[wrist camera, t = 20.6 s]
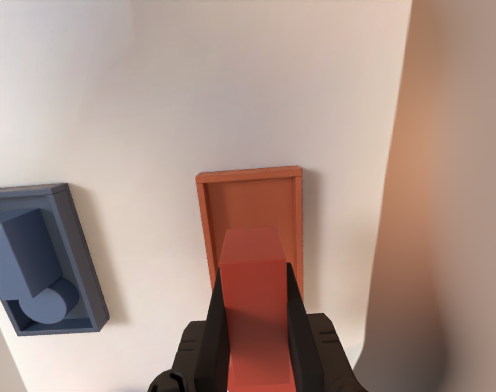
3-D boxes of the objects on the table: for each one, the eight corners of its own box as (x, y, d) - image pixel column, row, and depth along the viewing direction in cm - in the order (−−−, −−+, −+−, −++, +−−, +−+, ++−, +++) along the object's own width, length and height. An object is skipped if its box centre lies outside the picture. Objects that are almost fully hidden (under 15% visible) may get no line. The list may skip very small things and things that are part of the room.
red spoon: (211, 230, 14) (198, 264, 10) (292, 224, 14) (307, 257, 10) (231, 381, 17) (226, 445, 14) (295, 378, 17) (307, 442, 14)
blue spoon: (0, 210, 22) (-45, 226, 19) (48, 207, 22) (11, 222, 19) (42, 312, 26) (11, 340, 23) (84, 309, 26) (58, 338, 22)
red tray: (199, 172, 22) (195, 177, 20) (297, 165, 21) (302, 169, 20) (219, 311, 26) (216, 325, 24) (299, 307, 26) (303, 320, 24)
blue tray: (-26, 189, 22) (-50, 195, 20) (67, 182, 22) (50, 187, 20) (33, 322, 27) (17, 336, 25) (109, 318, 27) (99, 332, 25)
